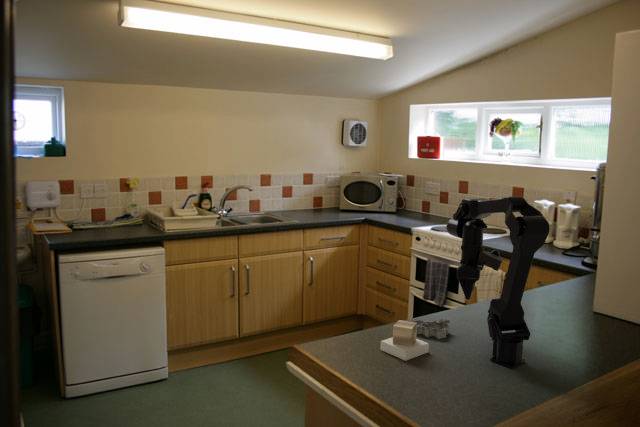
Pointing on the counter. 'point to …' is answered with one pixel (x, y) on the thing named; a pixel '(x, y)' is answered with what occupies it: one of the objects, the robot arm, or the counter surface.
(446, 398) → the counter surface
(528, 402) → the counter surface
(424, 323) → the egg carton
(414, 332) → the cube
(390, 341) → the base
